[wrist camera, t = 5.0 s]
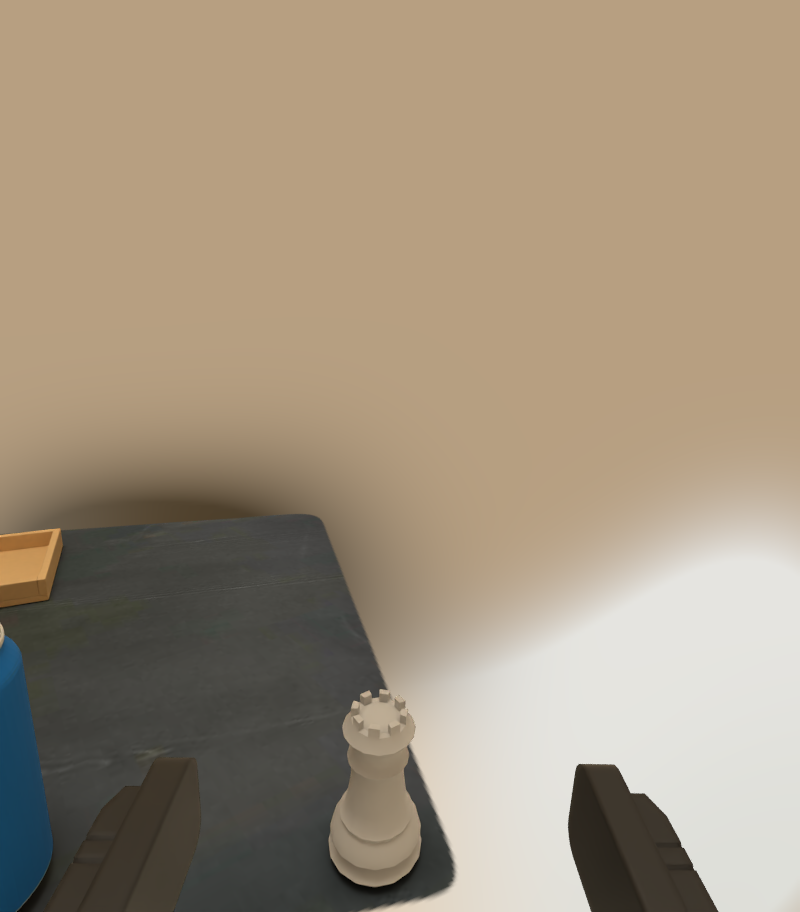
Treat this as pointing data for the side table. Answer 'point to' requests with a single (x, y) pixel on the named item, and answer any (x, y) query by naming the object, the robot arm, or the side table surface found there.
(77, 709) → the side table surface
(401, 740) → the rook chess piece
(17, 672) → the beverage can
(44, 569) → the tray
